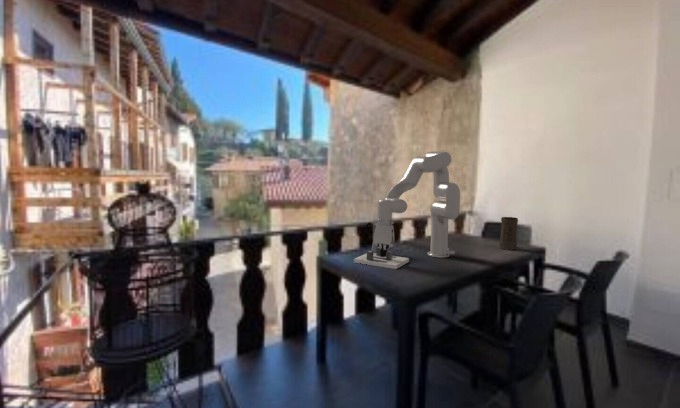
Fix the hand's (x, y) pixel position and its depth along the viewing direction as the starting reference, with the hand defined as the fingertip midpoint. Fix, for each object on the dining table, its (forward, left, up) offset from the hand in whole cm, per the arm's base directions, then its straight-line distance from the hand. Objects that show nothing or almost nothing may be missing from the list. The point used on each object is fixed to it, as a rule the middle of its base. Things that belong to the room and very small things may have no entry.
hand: (383, 256), depth 223 cm
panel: (+1, 0, -3) cm, 3 cm away
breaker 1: (+5, +6, -1) cm, 8 cm away
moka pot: (+11, -17, -3) cm, 20 cm away
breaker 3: (-4, 0, -1) cm, 4 cm away
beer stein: (-50, -79, -3) cm, 94 cm away
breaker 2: (+5, -6, -1) cm, 8 cm away
